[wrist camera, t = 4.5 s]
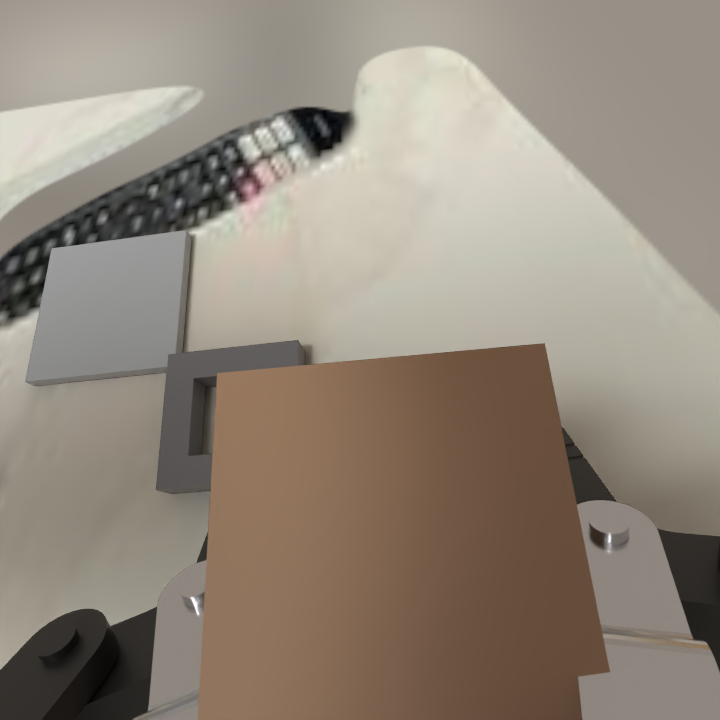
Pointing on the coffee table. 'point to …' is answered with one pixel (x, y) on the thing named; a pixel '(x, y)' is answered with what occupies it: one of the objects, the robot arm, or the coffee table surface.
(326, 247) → the coffee table surface
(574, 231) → the coffee table surface
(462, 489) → the walnut block
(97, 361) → the grey pad
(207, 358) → the grey square frame
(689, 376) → the coffee table surface
